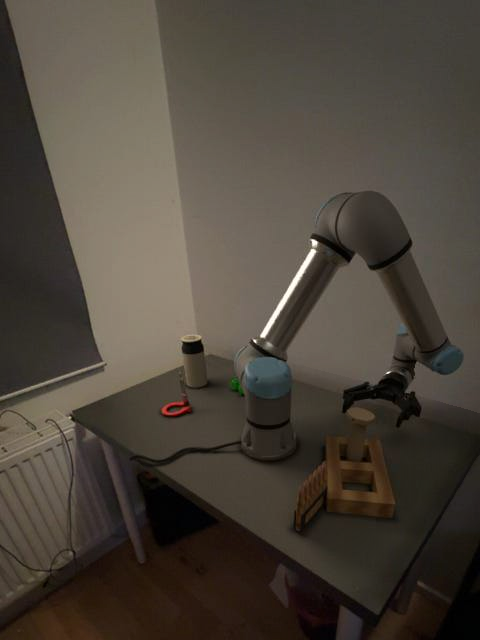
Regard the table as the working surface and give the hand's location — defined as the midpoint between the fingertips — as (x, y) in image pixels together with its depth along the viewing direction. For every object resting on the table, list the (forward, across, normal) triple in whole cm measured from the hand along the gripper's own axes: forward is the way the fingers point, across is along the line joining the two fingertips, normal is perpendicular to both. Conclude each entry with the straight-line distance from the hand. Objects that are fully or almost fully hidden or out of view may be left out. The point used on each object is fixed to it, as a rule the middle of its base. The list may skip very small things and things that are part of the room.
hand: (370, 415), depth 87 cm
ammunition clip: (+29, +1, -10) cm, 31 cm away
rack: (+13, -2, -10) cm, 17 cm away
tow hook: (+11, +59, -10) cm, 61 cm away
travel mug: (-8, +67, -10) cm, 69 cm away
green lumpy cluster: (-15, +47, -10) cm, 51 cm away
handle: (+8, 0, -10) cm, 13 cm away
